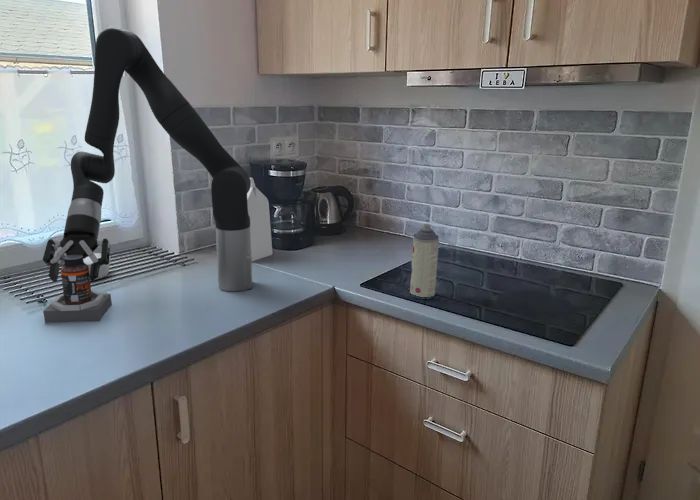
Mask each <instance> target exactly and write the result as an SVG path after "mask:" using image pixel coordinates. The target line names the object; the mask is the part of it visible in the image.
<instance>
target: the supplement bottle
mask: <svg viewBox="0 0 700 500" xmlns="http://www.w3.org/2000/svg"><path fill="white" fill-rule="evenodd" d="M83 261H84V260H83V256H82V255H69V256H66V257H64V263H63V264H64V265H62V267H61V269H60V273H61V275H60V276H61V283H62V284H61V285H62V292H63V293H62V294H64V301H65V303H66V304H69V305H80V304H84V303H87V302H89V301H90V300H91V299H92V295H91V290H92V289H91V288H92V287H91V286H92V285H91V280H90V278H89V267H88V265H87V264H85V263H84V262H83Z"/></svg>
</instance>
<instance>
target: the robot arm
mask: <svg viewBox="0 0 700 500" xmlns="http://www.w3.org/2000/svg"><path fill="white" fill-rule="evenodd" d="M94 49H95V50H94V70H93V71H94V72H93V73H94V74H93V87H92V96H91V97H92V98H91V103H90V104H91V105H90V109H89V114H88V117H87V118H88V120H87V123H86V127H85V133H84V141H85V144H87V145H89V146H91V147H93V148H94V149H97V150H99V151H100V152H101V154H102V155H100V154H97V153H96V154H94V153H91V152H87V151H78V152H76V153H74V154H73V156H72V157H71V159H70V171H71V176H72V183H73V187H72V188H73V189H72V195H71V201H70V205H69V207H68V210H67V215H66V220H65V226H64V230H63V237H62V239H61V240H60V241H57V240H56V241H55V240H53V238H52V239H51V238H50V239H48V240H47V242H46V245H45V250H44V253H43V257H42V261H43V262H44V263H45V264H46V266H49V272H48V277H49V278H50V280H51V281H52V282H53V283H54V282H58V278H59V274H60V270H61V269H60V267H61V265H63V264H65V263H64V257H66V256H69V255H82V256H83V259H85V258H86V257H88V256H89V258H90V259H91V260H92V261H93V263H91V269H90V275H89V278H90V279H91V280H90V282H94V281H96V280H97V279H96V278H98V275H99V269H100V266H101V265H104V264H105V265H107V264H109V258H111V256H110V254H111V243H110V241H109V240H108V238H103V239H102V240H98V238H99V231H100V227H101V222H102V207H103V201H104V189H103V187H102V186H101V185H100V184H108V183H111V181H113V178H114V177H115V175H116V170H115V169H116V168H115V157H114V148H115V147H114V146H115V140H116V137H117V132H118V127H119V123H120V100H119V99H120V96H119V95H120V86H121V83H122V82H121V81H122V78H123V75H124V73H125V72H126V73H127V74H128V75H129V77H130V78H131V79H132V80H133V81H134V82H135V83H136V84H137V86H138V87H139V88H140V90H141V91H142V92H143V94H144V96H145V98H146V101H147V103H148V105H149V106H148V107H150V110H151V112H152V114H153V116H154V118H155V119H156V121H157V122H158V124H160V126H161V127H162V129H163V130H164V131H165V132H166V134H168V136H169V137H170V138H171V139H172V140H173V141H174V142H175V143H176V144H177V145H178V146H180V147H181V148H182V149H183V150H185V151H186V152H187V153H188V154H190V155H192V156H193V157H194V158H195V159H196V160H198V161H199V163H200V164H201V165H202V166H203V167H204V169H206V171H207V172H208V174H209V175H210V176H211V178H212V180H211V184H210V185H211V186H210V187H211V188H210V189H211V190H210V191H211V192H210V193H211V204H212V216H213V219H214V222H215V223H214V225H215V241H216V243H215V244H216V259H217V260H216V262H217V281H218V288H219V289H220V290H221V291H226V292H242V291H245V290H249V289H250V290H251V289H252V288H253V261H252V251H251V234H250V217H249V214H248V204H247V193H248V192H249V190H250V186H251V181H250V178H251V177H250V175H249V173H248V172H247V171H246V169H245V168H243V166H242V165H240V163H238V162H237V161H236V160H235V158H233V156H231V154H230V153H229V152H228V151H227V150H226V149H225V148H224V147H223V145H221V143H220V142H219V141H218V139H217V138H216V136H215V135H214V133H213V132H212V130H211V129H210V128H209V126H208V125H207V124H206V123H205V121H204V120H203V118H202V117H201V115H200V114H199V113H198V112H197V111H196V110H195V108H194V107H193V106H192V104H191V103H190V101H188V100H187V98H185V96H184V95H183V94H182V92H181V91H180V90H179V88H177V86H176V85H175V84H174V83H173V82H172V80H171V79H169V78H168V77H167V75H166V74H165V73H164V72H163V70H162V69H161V67H160V66H159V65H158V64H157V62H156V61H155V58H153V55H151V52H150V51H149V49H148V48H147V47H146V45H145V43H144V42H143V41H142V40H141V38H140V37H139V36H138V35H137V34H136V33H135V32H134V31H131V30H128V29H124V28H118V27H107V28H105V29H103V30H102V31H100V32H99V33H98V34H97V37H96V40H95V48H94ZM97 183H100V184H97ZM60 247H61V249H60V250H59V248H60ZM98 247H99V248H100V249H101V252H100V253H101V258H98V259H97V257H96V256H95V255H94V253H95V250H97V249H98ZM56 251H57V253H56ZM55 254H56V255H55ZM95 279H96V280H95Z"/></svg>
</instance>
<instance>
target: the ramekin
mask: <svg viewBox="0 0 700 500" xmlns="http://www.w3.org/2000/svg"><path fill="white" fill-rule="evenodd" d="M93 253H94V255H95V256H96V257H97V259H98V258H101V253H102V252H93ZM83 260H84V261H83V262H84V263H85V264H87V265H88V267H89V275H90V269H91V263H93V261H92V260H91V259H90V258H89V256H88V257H86V258H85V259H83ZM111 261H112V259H111V257H110V258H109V264H107V265H105V264H104V265H101V266H100V269H99V275H98V278H100V279H102V278H101V277H103V278H105V277H107V275H108V274H109V272H110V266H111V265H110V262H111ZM104 276H105V277H104ZM96 280H98V279H97V278H96ZM90 281H91V279H90Z"/></svg>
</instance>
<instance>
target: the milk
mask: <svg viewBox="0 0 700 500" xmlns="http://www.w3.org/2000/svg"><path fill="white" fill-rule="evenodd" d="M249 178H250V181H251V186H250V190H249V192H248V193H247V204H248V214H249V217H250V234H251V251H252V262H254V261H257V260H260V259H264V258H266V257H269V256H272V255H273V245H272V244H273V243H272V241H273V240H272V230H271V217H270V203H269V199H268V198H267V196H266V195H265V194H263V193H262V192H261V191H260V189H258V187H256V184H255V181H254V178H253V177H249Z"/></svg>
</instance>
